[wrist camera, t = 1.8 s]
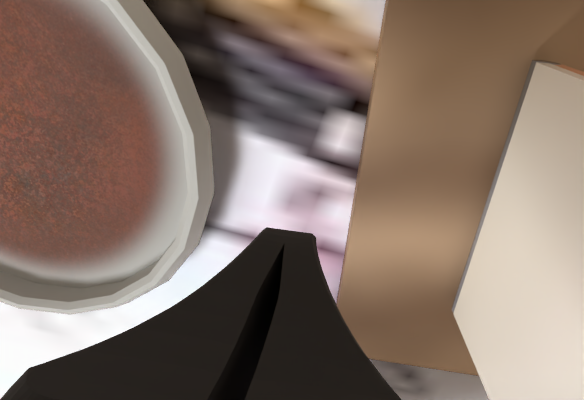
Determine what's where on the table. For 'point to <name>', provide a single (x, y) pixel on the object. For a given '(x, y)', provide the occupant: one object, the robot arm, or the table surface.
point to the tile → (532, 250)
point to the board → (437, 162)
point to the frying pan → (96, 155)
